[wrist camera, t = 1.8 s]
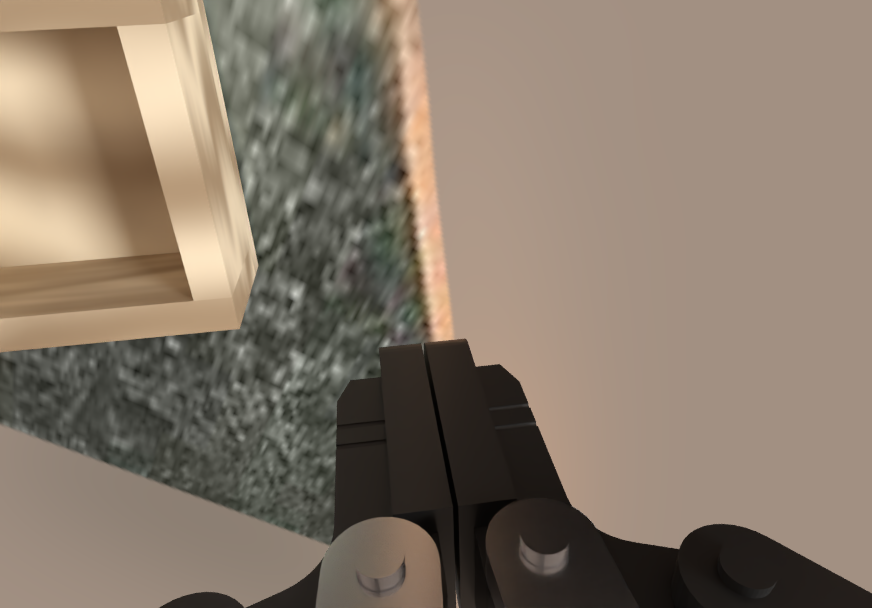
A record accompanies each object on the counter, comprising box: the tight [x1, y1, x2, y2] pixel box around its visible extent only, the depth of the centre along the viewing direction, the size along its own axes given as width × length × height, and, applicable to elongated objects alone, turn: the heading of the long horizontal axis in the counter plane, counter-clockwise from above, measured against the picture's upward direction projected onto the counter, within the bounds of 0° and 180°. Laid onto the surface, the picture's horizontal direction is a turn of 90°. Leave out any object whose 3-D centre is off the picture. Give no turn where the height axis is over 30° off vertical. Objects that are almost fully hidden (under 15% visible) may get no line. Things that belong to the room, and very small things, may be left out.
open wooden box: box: [0, 0, 258, 352], centre depth 23 cm, size 13×13×6 cm
